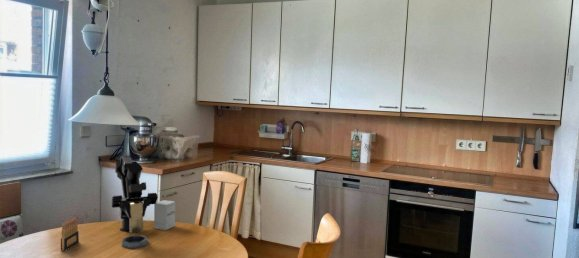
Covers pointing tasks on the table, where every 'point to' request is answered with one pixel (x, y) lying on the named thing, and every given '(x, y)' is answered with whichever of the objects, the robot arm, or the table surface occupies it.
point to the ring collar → (134, 242)
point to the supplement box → (164, 215)
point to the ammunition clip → (69, 233)
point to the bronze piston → (136, 217)
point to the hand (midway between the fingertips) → (136, 217)
